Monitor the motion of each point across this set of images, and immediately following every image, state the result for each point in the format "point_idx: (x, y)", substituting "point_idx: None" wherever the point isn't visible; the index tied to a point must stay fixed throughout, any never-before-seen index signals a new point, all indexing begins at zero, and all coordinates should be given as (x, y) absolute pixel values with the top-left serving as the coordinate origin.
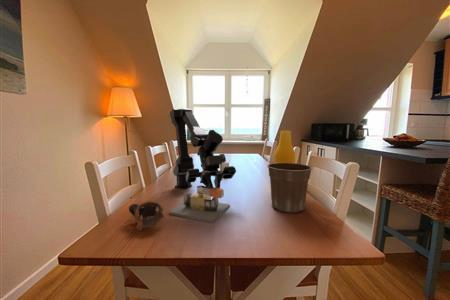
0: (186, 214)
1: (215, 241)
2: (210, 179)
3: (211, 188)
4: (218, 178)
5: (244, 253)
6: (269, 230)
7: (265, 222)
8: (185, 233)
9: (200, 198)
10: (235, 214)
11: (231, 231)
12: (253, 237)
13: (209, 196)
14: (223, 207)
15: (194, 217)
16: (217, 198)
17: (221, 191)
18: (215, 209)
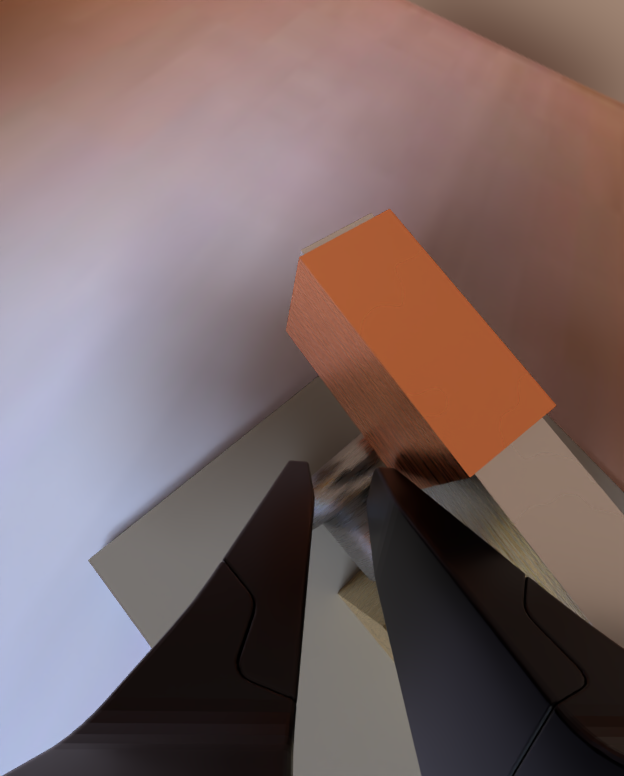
0: (612, 499)
1: (469, 127)
2: (617, 741)
3: (519, 391)
4: (230, 744)
5: (379, 8)
6: (120, 59)
7: (51, 132)
8: (611, 265)
9: None
10: (171, 347)
11: (346, 158)
12: (263, 60)
13: None
14: (213, 503)
15: (546, 419)
16: (316, 473)
17: (367, 219)
18: (337, 453)
